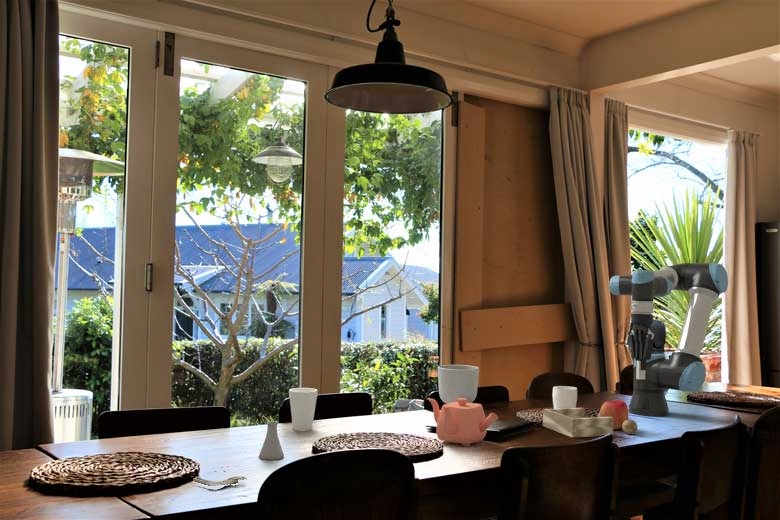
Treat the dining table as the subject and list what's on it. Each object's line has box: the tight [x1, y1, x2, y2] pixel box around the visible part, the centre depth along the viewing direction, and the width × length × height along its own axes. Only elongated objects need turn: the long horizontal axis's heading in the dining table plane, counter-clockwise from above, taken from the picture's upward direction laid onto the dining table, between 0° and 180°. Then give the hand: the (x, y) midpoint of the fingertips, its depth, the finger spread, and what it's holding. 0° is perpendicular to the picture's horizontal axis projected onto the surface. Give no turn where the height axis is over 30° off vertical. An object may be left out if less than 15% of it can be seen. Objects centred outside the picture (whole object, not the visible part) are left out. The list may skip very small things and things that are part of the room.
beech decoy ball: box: [621, 418, 639, 435], centre depth 262 cm, size 5×5×5 cm
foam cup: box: [288, 387, 318, 432], centre depth 258 cm, size 10×9×13 cm
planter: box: [437, 364, 480, 404], centre depth 313 cm, size 17×17×15 cm
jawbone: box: [193, 476, 247, 486], centre depth 190 cm, size 9×20×2 cm, turn 67°
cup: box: [551, 385, 578, 409], centre depth 285 cm, size 9×9×12 cm
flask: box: [258, 420, 285, 461], centre depth 217 cm, size 7×7×10 cm
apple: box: [599, 399, 629, 430], centre depth 271 cm, size 10×10×10 cm
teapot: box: [426, 397, 499, 447], centre depth 243 cm, size 18×18×14 cm
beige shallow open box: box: [542, 407, 614, 438], centre depth 266 cm, size 16×19×6 cm
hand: (640, 379), depth 274 cm, fingers closed
